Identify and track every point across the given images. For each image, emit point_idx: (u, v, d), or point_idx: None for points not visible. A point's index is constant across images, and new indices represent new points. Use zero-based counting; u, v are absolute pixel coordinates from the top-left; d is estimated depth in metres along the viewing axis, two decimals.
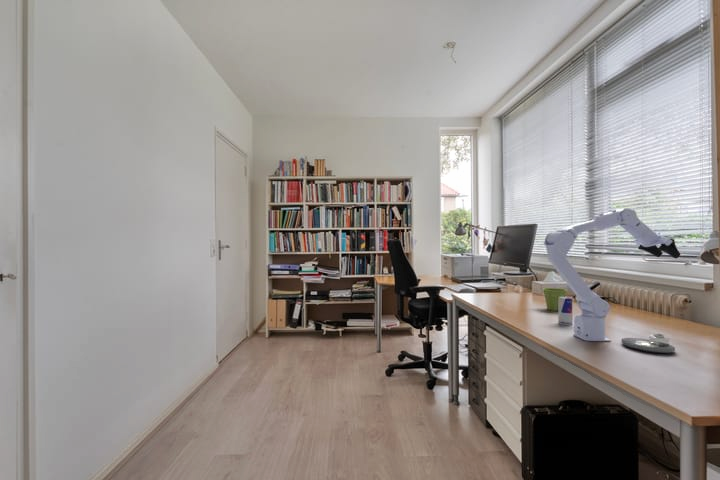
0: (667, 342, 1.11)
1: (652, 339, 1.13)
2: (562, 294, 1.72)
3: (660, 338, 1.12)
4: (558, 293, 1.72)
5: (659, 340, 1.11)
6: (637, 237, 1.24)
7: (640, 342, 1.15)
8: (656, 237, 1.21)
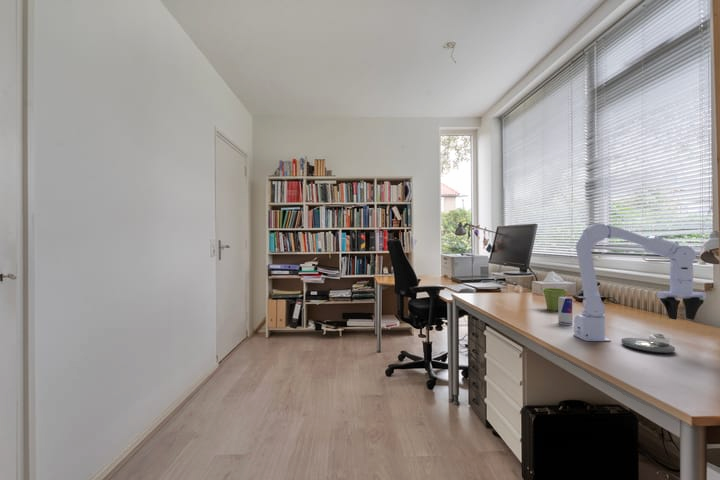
0: (667, 342, 1.11)
1: (652, 339, 1.13)
2: (562, 294, 1.72)
3: (660, 338, 1.12)
4: (558, 293, 1.72)
5: (659, 340, 1.11)
6: None
7: (640, 342, 1.15)
8: (675, 291, 1.12)
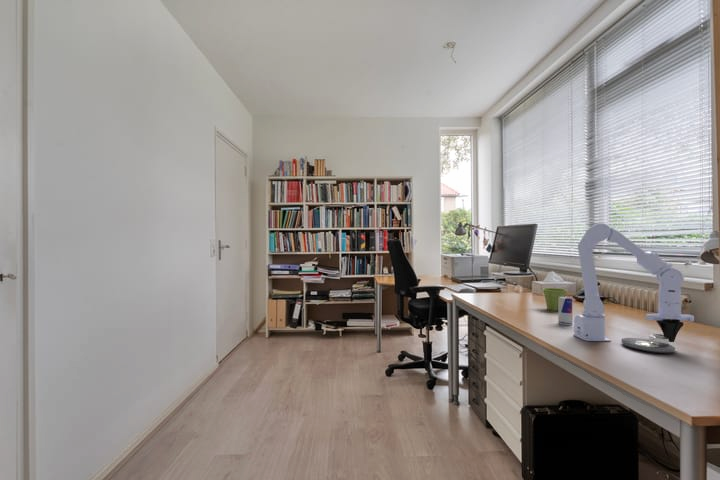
0: (667, 342, 1.11)
1: (651, 339, 1.13)
2: (562, 294, 1.72)
3: (659, 338, 1.12)
4: (558, 293, 1.72)
5: (659, 340, 1.11)
6: None
7: (640, 342, 1.15)
8: (663, 313, 1.12)
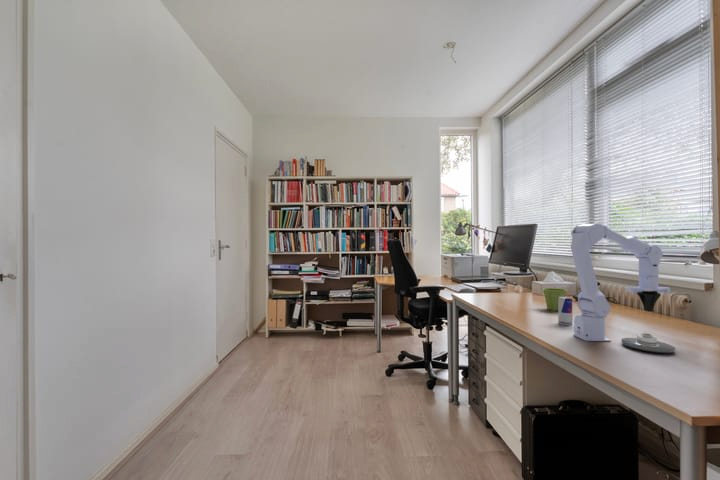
0: (655, 342, 1.11)
1: (639, 339, 1.13)
2: (562, 294, 1.72)
3: (647, 338, 1.12)
4: (558, 293, 1.72)
5: (647, 340, 1.11)
6: None
7: None
8: (642, 286, 1.25)
